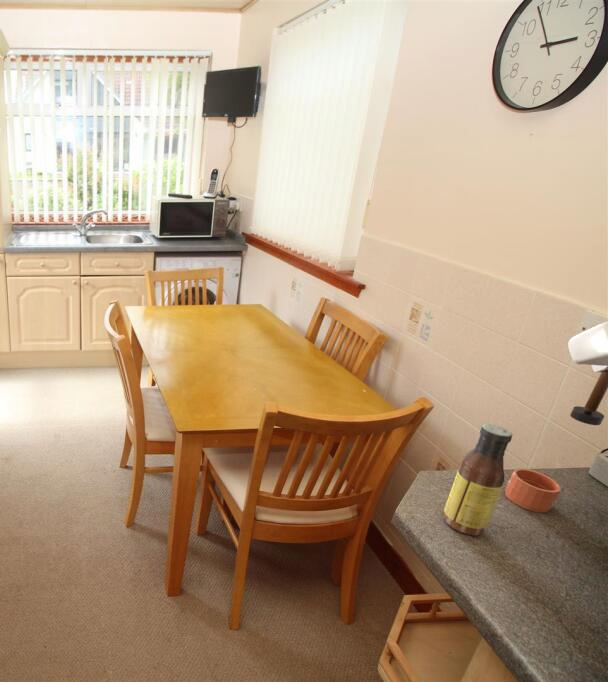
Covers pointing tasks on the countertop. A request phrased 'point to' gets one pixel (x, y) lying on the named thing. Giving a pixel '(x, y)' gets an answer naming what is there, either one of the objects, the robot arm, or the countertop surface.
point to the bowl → (532, 490)
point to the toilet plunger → (592, 403)
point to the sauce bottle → (478, 482)
